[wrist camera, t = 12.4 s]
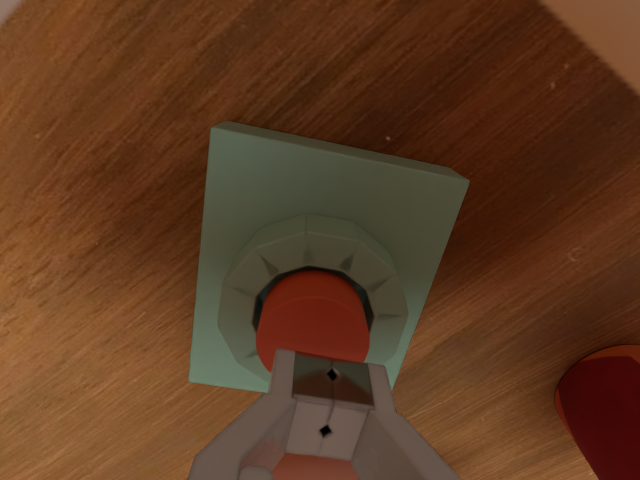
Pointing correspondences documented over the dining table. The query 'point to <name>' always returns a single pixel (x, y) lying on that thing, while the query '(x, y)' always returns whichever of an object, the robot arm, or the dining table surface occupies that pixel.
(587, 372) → the coffee cup
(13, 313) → the dining table surface
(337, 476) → the teapot
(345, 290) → the button
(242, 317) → the button box
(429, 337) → the dining table surface
